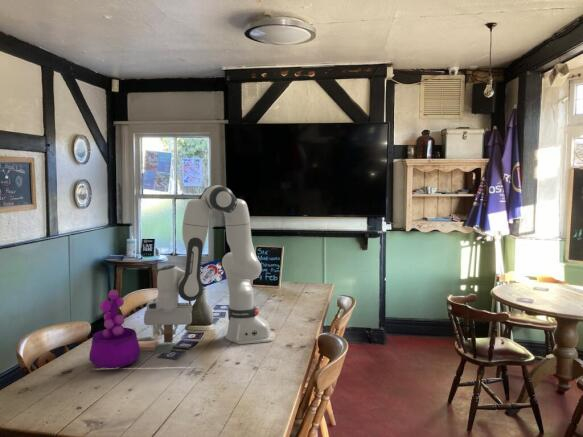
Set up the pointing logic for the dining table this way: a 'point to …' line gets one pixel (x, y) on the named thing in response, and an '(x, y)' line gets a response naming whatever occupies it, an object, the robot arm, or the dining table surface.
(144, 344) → the tile
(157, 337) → the beer glass
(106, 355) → the decorative plant
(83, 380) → the dining table surface
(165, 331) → the walnut block
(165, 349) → the mat
